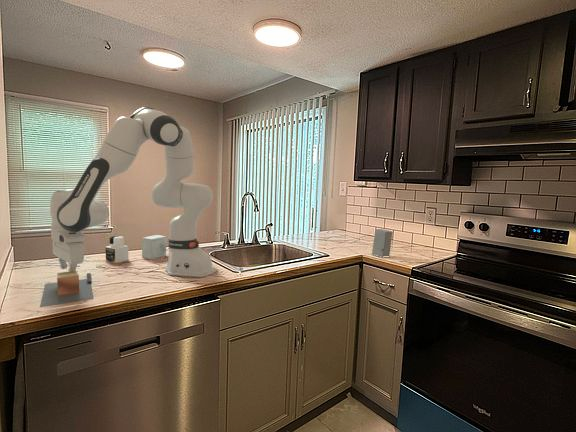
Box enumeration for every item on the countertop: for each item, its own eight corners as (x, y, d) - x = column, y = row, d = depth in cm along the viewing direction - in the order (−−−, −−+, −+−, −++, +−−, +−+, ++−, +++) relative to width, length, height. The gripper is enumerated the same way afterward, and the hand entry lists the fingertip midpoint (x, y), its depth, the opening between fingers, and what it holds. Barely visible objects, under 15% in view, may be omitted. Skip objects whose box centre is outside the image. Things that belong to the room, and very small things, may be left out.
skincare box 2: (371, 255, 187) (373, 228, 185) (379, 253, 191) (381, 228, 189) (382, 258, 180) (385, 231, 178) (390, 257, 184) (393, 230, 182)
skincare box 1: (151, 259, 155) (150, 238, 154) (141, 257, 158) (141, 237, 157) (166, 255, 165) (166, 235, 164) (157, 253, 167) (157, 234, 166)
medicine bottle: (105, 261, 149) (104, 236, 148) (119, 258, 155) (119, 234, 154) (114, 263, 146) (114, 238, 144) (128, 260, 152) (128, 236, 151)
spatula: (95, 265, 143) (95, 262, 143) (98, 281, 118) (98, 277, 118) (79, 267, 140) (79, 264, 139) (79, 283, 115) (79, 280, 115)
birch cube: (57, 272, 108) (57, 278, 104) (77, 270, 112) (78, 275, 107) (57, 289, 109) (57, 295, 105) (78, 286, 113) (79, 292, 108)
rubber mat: (45, 284, 115) (45, 283, 115) (90, 279, 123) (90, 278, 122) (39, 308, 95) (39, 307, 95) (93, 300, 103) (93, 298, 103)
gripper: (46, 230, 117) (48, 266, 118) (66, 239, 104) (67, 279, 106) (66, 229, 122) (67, 263, 123) (87, 237, 109) (88, 275, 111)
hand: (67, 271), depth 114 cm, fingers open, 7 cm apart
